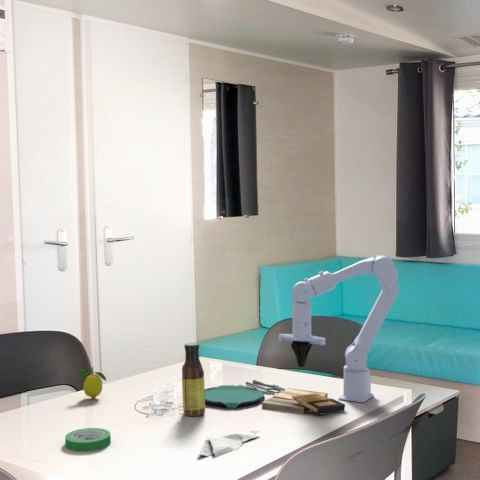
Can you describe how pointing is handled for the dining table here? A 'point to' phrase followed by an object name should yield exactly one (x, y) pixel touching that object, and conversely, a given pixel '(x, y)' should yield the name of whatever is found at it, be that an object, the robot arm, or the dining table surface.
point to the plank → (295, 393)
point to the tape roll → (78, 443)
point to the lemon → (92, 383)
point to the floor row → (284, 405)
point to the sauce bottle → (193, 382)
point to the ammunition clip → (319, 403)
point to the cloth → (225, 443)
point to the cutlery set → (238, 394)
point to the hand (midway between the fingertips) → (301, 366)
